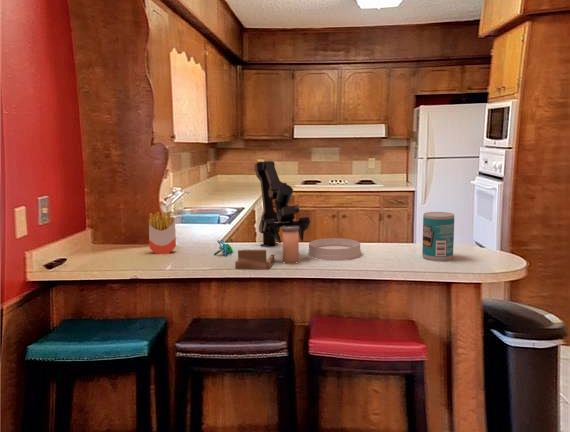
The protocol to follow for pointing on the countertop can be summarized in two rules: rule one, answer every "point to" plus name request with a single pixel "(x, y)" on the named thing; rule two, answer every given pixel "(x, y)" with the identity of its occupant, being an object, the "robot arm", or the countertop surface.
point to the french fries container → (162, 233)
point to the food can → (438, 236)
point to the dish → (334, 249)
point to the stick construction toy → (224, 248)
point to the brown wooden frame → (253, 259)
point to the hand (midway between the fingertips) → (291, 241)
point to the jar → (290, 243)
